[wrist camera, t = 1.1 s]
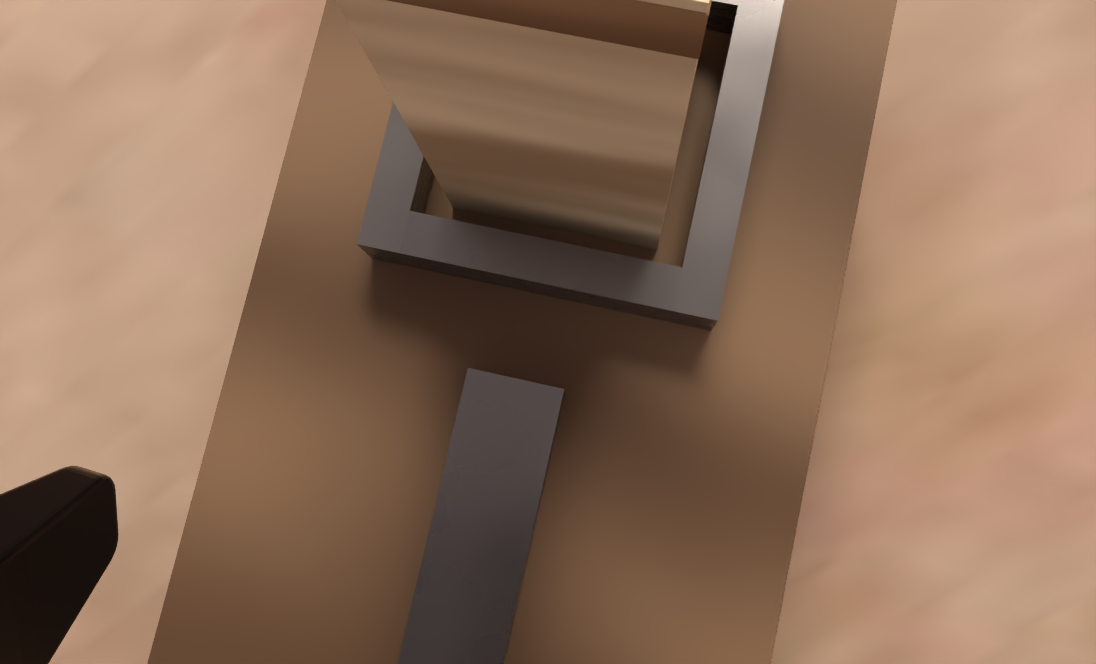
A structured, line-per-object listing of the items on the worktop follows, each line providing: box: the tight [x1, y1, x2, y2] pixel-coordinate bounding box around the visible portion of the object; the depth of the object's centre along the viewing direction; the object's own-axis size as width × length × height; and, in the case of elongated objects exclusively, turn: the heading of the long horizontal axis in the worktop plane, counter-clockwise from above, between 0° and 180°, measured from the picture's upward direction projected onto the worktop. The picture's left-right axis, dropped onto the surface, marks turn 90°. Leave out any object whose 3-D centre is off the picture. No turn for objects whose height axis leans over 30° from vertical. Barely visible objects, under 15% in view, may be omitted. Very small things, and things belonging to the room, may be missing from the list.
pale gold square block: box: [336, 0, 712, 250], centre depth 15 cm, size 4×4×10 cm
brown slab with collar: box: [148, 0, 897, 664], centre depth 20 cm, size 18×11×5 cm, turn 167°
